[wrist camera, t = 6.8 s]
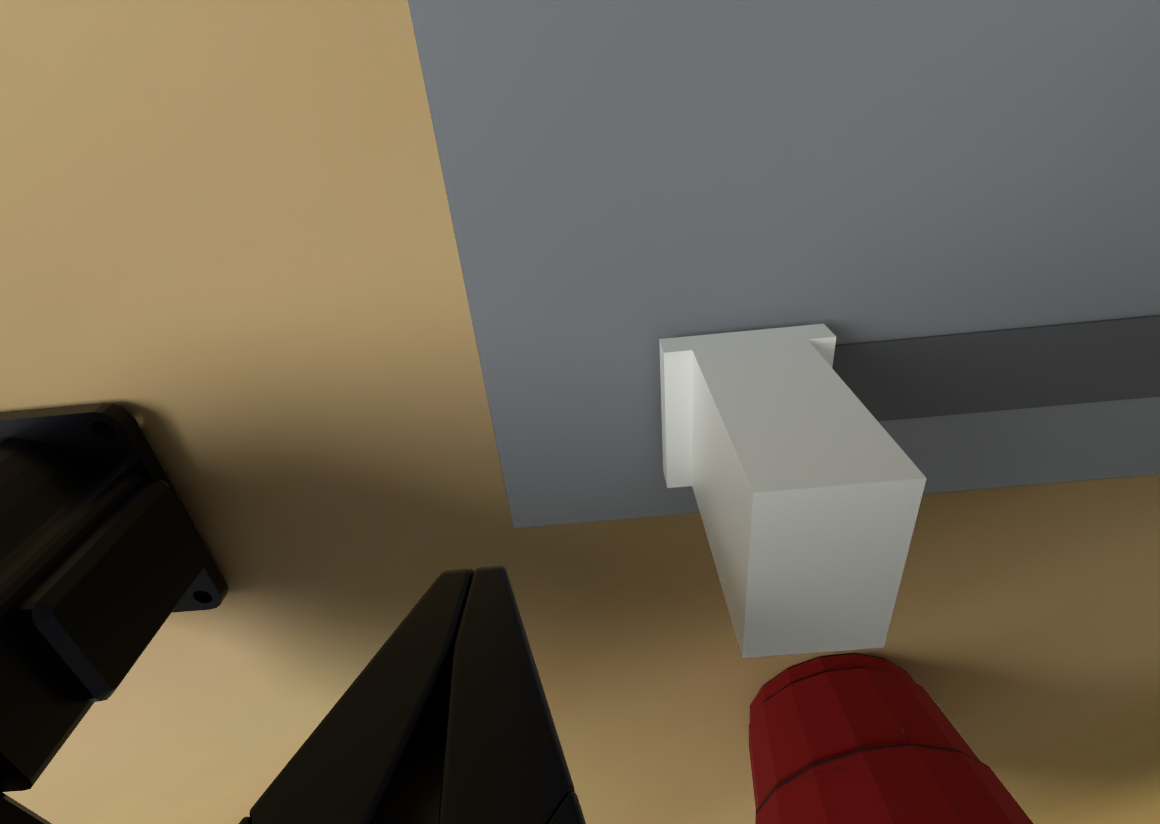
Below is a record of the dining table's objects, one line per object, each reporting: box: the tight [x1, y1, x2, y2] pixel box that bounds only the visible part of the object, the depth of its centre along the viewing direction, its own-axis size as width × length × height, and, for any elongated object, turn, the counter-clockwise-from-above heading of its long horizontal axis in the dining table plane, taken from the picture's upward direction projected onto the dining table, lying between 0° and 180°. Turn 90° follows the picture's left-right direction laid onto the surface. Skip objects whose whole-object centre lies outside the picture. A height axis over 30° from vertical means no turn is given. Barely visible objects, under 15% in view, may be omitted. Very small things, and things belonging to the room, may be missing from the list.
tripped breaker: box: [659, 324, 927, 658], centre depth 10 cm, size 3×3×5 cm
